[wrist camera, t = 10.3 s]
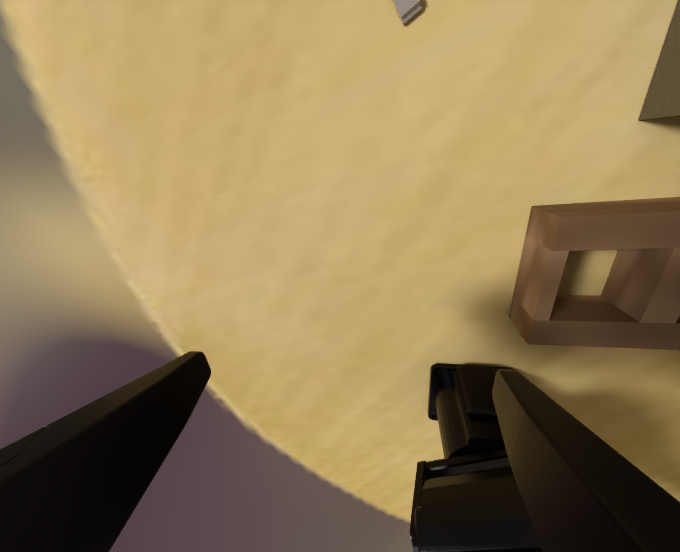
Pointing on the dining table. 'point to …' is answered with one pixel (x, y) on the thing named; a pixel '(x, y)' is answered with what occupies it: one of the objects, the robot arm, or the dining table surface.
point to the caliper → (407, 9)
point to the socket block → (666, 76)
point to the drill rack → (623, 281)
